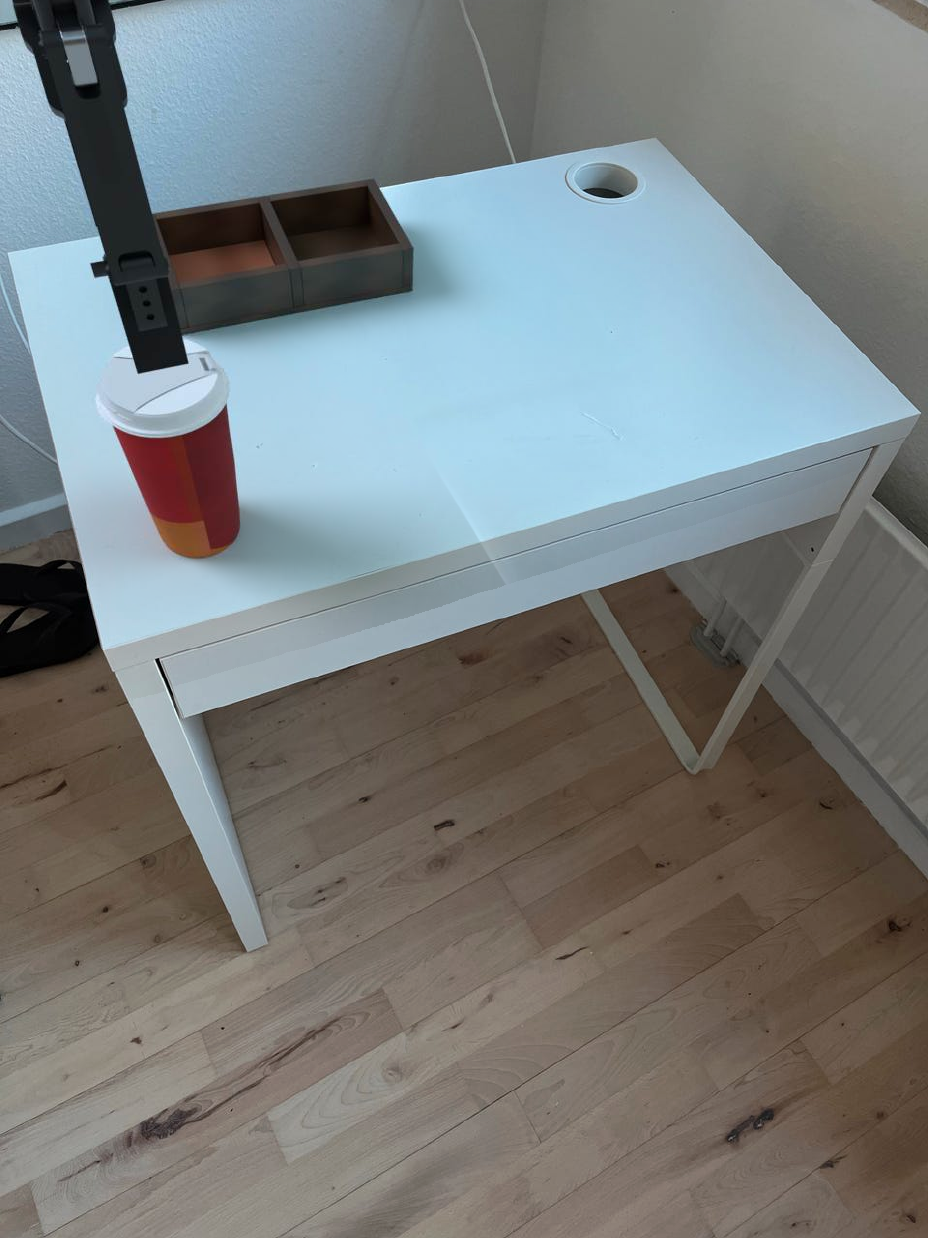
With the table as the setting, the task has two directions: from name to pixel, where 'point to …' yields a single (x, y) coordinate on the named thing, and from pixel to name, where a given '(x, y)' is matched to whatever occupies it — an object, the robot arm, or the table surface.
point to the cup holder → (283, 254)
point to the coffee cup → (177, 446)
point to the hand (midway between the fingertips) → (138, 287)
